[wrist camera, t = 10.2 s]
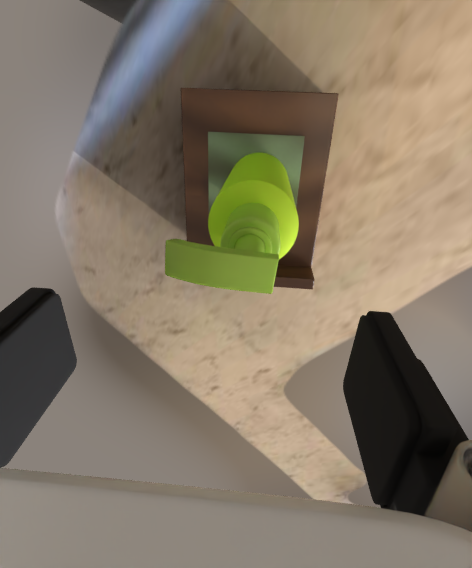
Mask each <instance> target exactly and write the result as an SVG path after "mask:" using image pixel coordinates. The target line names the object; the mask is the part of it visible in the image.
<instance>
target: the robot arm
mask: <svg viewBox="0 0 472 568" xmlns="http://www.w3.org/2000/svg"><path fill="white" fill-rule="evenodd" d="M76 362H77V359H76V355H75V351H74V347H73V344H72V340H71V336H70V332H69V329H68V325H67V321H66V317H65V313H64V310H63V306H62V302H61V298H60V296H59V295H58V294H56V293H55V292H54V290H52V289H47V288H30V289H29V290H27V291H26V292H25V293H24V294H22V295H21V296H20V297H19V298H18V299H16V300H15V301H14V302H12V303H11V304H10V305H9V306H7V307H6V308H5V309H4V310H2V311H1V312H0V568H472V440H469V439H468V438H467V436H466V434H465V433H464V431H463V429H462V428H461V426H460V424H459V423H458V421H457V419H456V418H455V416H454V414H453V413H452V411H451V409H450V407H449V406H448V404H447V402H446V401H445V399H444V398H443V396H442V394H441V392H440V391H439V389H438V387H437V386H436V384H435V382H434V381H433V379H432V377H431V376H430V374H429V372H428V371H427V369H426V367H425V366H424V364H423V363H422V362H421V360H419V359H417V358H416V356H415V354H414V353H413V351H412V349H411V347H410V346H409V344H408V342H407V341H406V339H405V337H404V335H403V334H402V332H401V330H400V329H399V327H398V325H397V324H396V322H395V320H394V318H393V317H392V315H391V314H390V313H388V312H375V311H369V312H368V313H367V315H366V316H364V315H362V316H361V318H360V321H359V324H358V328H357V332H356V336H355V340H354V343H353V347H352V351H351V355H350V358H349V362H348V366H347V370H346V374H345V377H344V382H343V390H344V395H345V399H346V402H347V406H348V410H349V414H350V417H351V421H352V425H353V429H354V432H355V436H356V440H357V444H358V447H359V451H360V455H361V459H362V462H363V466H364V470H365V474H366V477H367V481H368V485H369V489H370V492H371V496H372V499H373V501H374V503H375V504H378V505H380V506H381V508H377V507H369V506H362V505H354V504H346V503H338V502H330V501H322V500H313V499H305V498H296V497H287V496H277V495H267V494H257V493H249V492H239V491H230V490H220V489H211V488H201V487H191V486H181V485H172V484H162V483H152V482H141V481H132V480H121V479H112V478H101V477H91V476H81V475H71V474H59V473H50V472H38V471H28V470H18V469H7V468H1V467H3V466H5V465H7V464H8V463H9V461H10V460H11V459H12V457H13V456H14V454H15V453H16V452H17V450H18V449H19V448H20V446H21V445H22V443H23V442H24V440H25V439H26V438H27V436H28V435H29V433H30V432H31V431H32V429H33V428H34V426H35V425H36V423H37V422H38V421H39V419H40V418H41V416H42V415H43V413H44V412H45V411H46V409H47V408H48V406H49V405H50V404H51V402H52V401H53V399H54V398H55V397H56V395H57V394H58V392H59V391H60V389H61V388H62V387H63V385H64V384H65V382H66V381H67V379H68V378H69V377H70V375H71V374H72V372H73V371H74V369H75V367H76Z"/></svg>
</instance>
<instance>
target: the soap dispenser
mask: <svg viewBox="0 0 472 568" xmlns="http://www.w3.org/2000/svg"><path fill="white" fill-rule="evenodd" d="M298 227H299V220H298V214H297V210H296V206H295V202H294V198H293V194H292V190H291V186H290V182H289V179H288V175H287V172H286V169H285V167H284V166H283V164H282V163H281V162H280V161H279V160H278V159H277V158H275V157H274V156H272V155H270V154H267V153H252V154H249V155H246V156H245V157H243V158H242V159H240V160H239V161H238V162H237V163H236V164H235V166H234V167H233V169H232V171H231V173H230V174H229V176H228V178H227V180H226V182H225V183H224V185H223V187H222V189H221V190H220V192H219V194H218V196H217V197H216V199H215V201H214V203H213V205H212V207H211V210H210V213H209V219H208V228H209V234H210V237H211V240H212V242H213V244H214V245H215V246H210V245H204V244H198V243H193V242H189V241H184V240H180V239H171V240H167V241H166V253H165V274H166V275H167V276H170V277H173V278H176V279H180V280H183V281H187V282H191V283H195V284H200V285H205V286H210V287H216V288H223V289H230V290H239V291H248V292H258V293H269V294H272V292H273V287H274V282H275V276H276V271H277V266H278V261H279V259H281V258H282V257H283V256H284V255H285V254H286V253H287V252H288V251H289V250H290V249H291V247H292V246H293V244H294V242H295V240H296V237H297V233H298Z"/></svg>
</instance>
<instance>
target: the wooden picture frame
mask: <svg viewBox="0 0 472 568" xmlns="http://www.w3.org/2000/svg"><path fill="white" fill-rule="evenodd" d="M337 101H338V93H313V92H285V91H257V90H229V89H201V88H181V105H182V130H183V155H184V180H185V205H186V230H187V241H189V242H193V243H198V244H204V245H210V246H215V245H214V244H213V242H212V240H211V237H210V234H209V228H208V219H209V213H210V210H211V207H212V205H213V203H214V201H215V199H216V197H217V196H218V194H219V192H220V190H221V189H222V187H223V185H224V183H225V182H226V180H227V178H228V176H229V174H230V173H231V171H232V169H233V167H234V166H235V164H236V163H237V162H238V161H239V160H240V159H242V158H243V157H245V156H246V155H249V154H252V153H267V154H270V155H272V156H274V157H275V158H277V159H278V160H279V161H280V162H281V163H282V164H283V166H284V167H285V169H286V172H287V175H288V179H289V182H290V186H291V190H292V194H293V198H294V202H295V206H296V210H297V214H298V220H299V227H298V233H297V237H296V240H295V242H294V244H293V246H292V247H291V249H290V250H289V251H288V252H287V253H286V254H285V255H284V256H283V257H282V258H281V259H279V261H278V266H277V271H276V276H275V282H274V287H287V288H301V289H313V285H314V277H313V273H312V269H311V265H312V259H313V253H314V246H315V240H316V234H317V227H318V221H319V215H320V208H321V202H322V196H323V189H324V183H325V177H326V170H327V164H328V158H329V151H330V145H331V139H332V132H333V126H334V120H335V113H336V107H337Z"/></svg>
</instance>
